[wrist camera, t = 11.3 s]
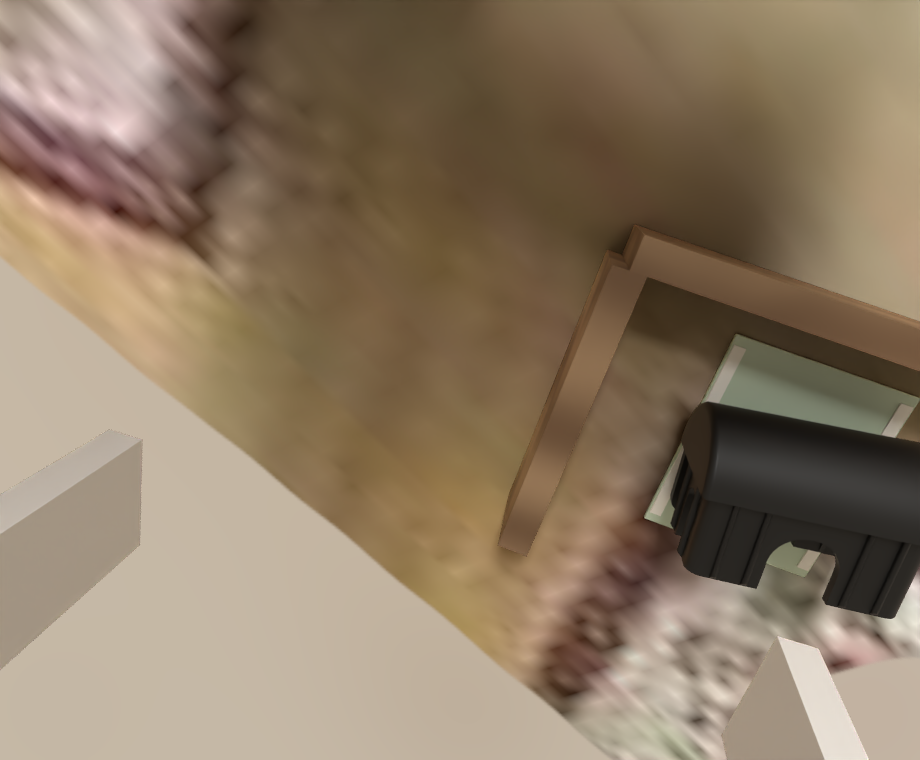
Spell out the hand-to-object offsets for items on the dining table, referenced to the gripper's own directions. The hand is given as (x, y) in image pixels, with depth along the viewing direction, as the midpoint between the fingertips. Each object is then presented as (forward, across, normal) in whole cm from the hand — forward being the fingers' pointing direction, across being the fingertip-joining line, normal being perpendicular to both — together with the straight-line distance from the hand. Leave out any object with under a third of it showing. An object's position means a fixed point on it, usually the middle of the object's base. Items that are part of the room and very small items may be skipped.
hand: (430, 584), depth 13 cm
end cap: (+21, +14, -4) cm, 25 cm away
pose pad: (+21, +14, -4) cm, 25 cm away
